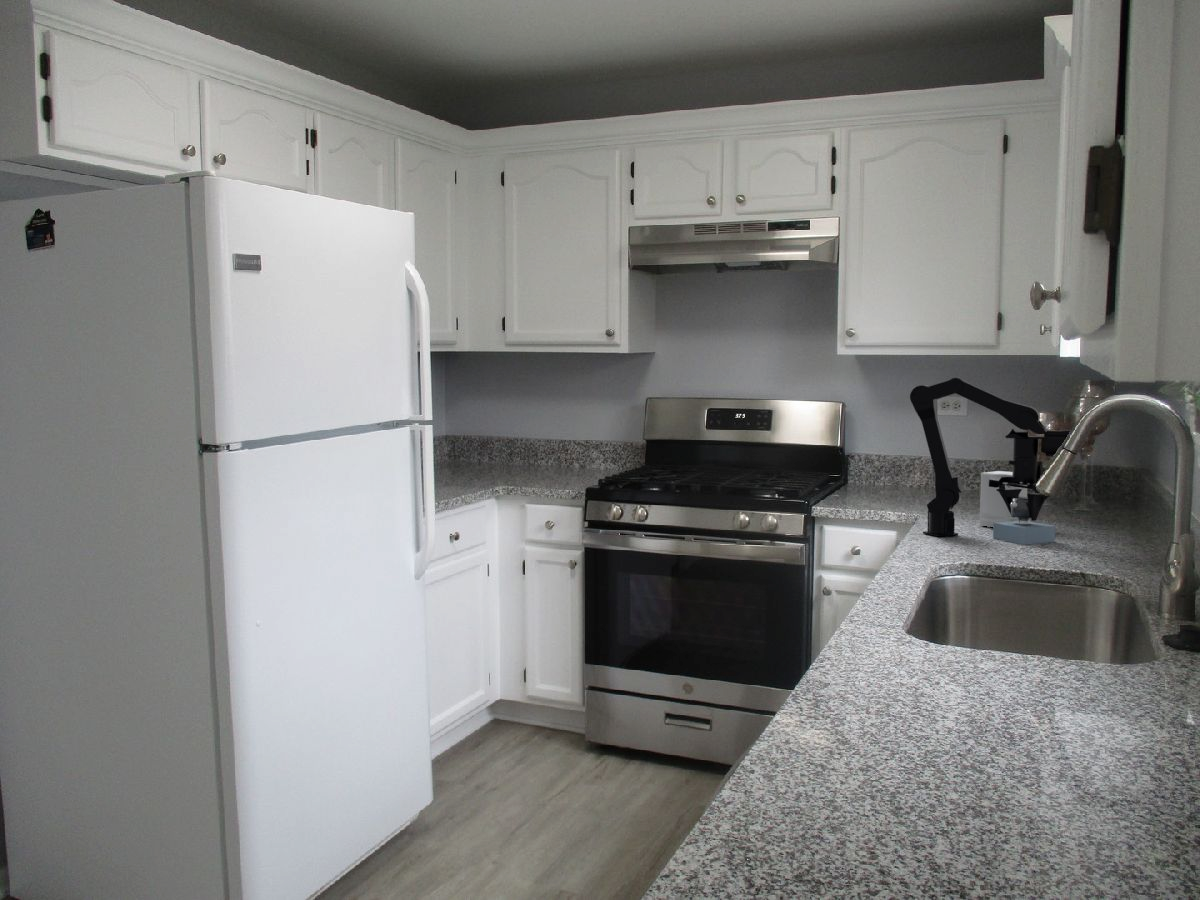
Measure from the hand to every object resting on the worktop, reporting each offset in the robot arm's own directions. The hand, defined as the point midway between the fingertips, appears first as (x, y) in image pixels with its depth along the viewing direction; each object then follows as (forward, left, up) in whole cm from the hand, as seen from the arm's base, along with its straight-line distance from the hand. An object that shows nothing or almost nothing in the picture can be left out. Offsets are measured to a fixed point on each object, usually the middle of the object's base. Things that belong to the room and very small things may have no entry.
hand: (1023, 518), depth 238 cm
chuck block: (0, 0, -5) cm, 5 cm away
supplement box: (-19, +12, -6) cm, 23 cm away
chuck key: (0, 0, -3) cm, 3 cm away
